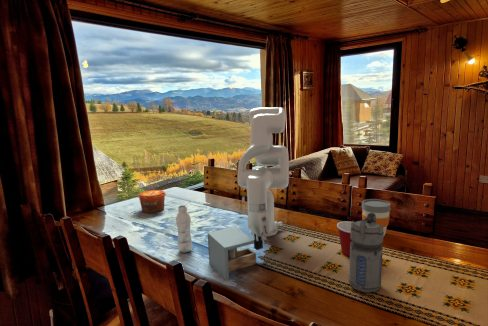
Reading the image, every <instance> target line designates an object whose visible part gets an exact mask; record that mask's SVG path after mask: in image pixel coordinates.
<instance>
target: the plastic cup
mask: <svg viewBox="0 0 488 326" xmlns="http://www.w3.org/2000/svg"><path fill="white" fill-rule="evenodd" d="M351 222H352V221H345V220H344V221H340V222H337V223H336V227H337V230H338V235H339V243H340V244H339V245H340V248H341V249H340V250H341V253H342V255H344V256H345V257H346V256H347V257H350V243H351V242H352V240H351V238H350V237H351ZM354 222H355V221H353V223H354Z"/></svg>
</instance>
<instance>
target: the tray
mask: <svg viewBox="0 0 488 326" xmlns="http://www.w3.org/2000/svg"><path fill="white" fill-rule="evenodd" d="M253 265H257V252H254V251H253V250H252V249H251V248H250V247H246V248H242V249H239V250H238V249H237V251H235V248H234V249H230V250H228V266H229V273H230V272H235V271H237V270H241V269H244V268H247V267H250V266H253Z"/></svg>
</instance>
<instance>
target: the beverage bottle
mask: <svg viewBox="0 0 488 326" xmlns="http://www.w3.org/2000/svg"><path fill="white" fill-rule="evenodd" d="M366 220H367V221H366ZM350 222H351V237H350V238H351V240H352V242H351V243H350V256H349V271H348V272H349V273H348V275H349V277H348V278H349V279H348V281H349V284H350V286H351V287H352V288H353V289H355V290H357V291H358V292H362V293H374V292H377V291H379V289H380V288H381V286H382V270H383V269H382V267H383V249H384V248H383V246H382V243H383V242H384V237H385V236H384V233H383V226H381V225H380V224H378V223H376V215H375V214H374V213H369V214H368V215H367V217H366V218H365V220H363V219H361V220H357V221H354V219H353V220H352V221H350ZM353 222H354V223H353Z"/></svg>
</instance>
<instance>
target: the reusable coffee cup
mask: <svg viewBox="0 0 488 326" xmlns="http://www.w3.org/2000/svg"><path fill="white" fill-rule="evenodd" d="M361 209H362V212H361V217H362V219H363V220H365V218H366V217H367V215H368V214H369V213H374V214H375V215H376V223H378V224H380V225H381V226H383V233H384V237H385V236H386V232H387V227H388V225H389V222H390V217H391V216H390V212H391V210H392V209H391V203H390V202H389V201H387V200H383V199H377V198H369V199H364V200H362V203H361ZM366 221H367V220H366Z"/></svg>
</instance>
